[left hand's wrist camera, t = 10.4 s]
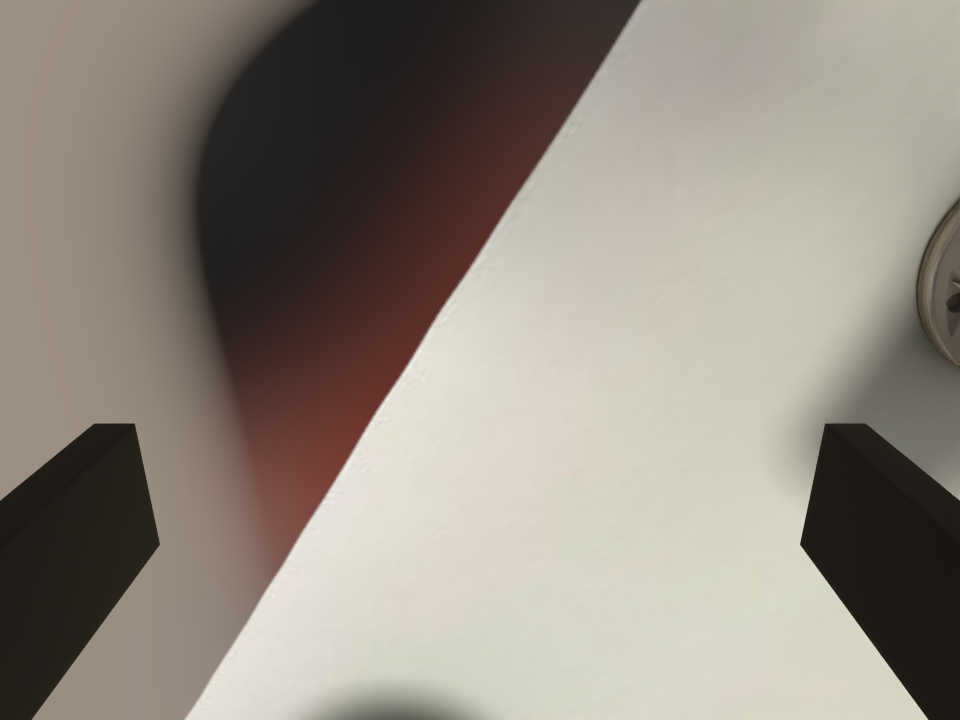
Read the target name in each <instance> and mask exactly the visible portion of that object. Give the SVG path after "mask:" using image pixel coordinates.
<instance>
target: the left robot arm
mask: <svg viewBox="0 0 960 720" xmlns="http://www.w3.org/2000/svg"><path fill="white" fill-rule="evenodd" d="M918 308H919V314H920V318H921V321H922V325H923V327H924V329H925V332H926V334H927V336H928V337H929V339H930V341H931V342H932V343H933V345H934V346H935V347H936V349H937V350H938V351H939V352H940V353H941V354H942V355H943V356H945V357H946V358H947V359H949V360H950V361H951V362H953V363H955V364H956V365H958V366H960V202H959V203H958V204H957V205H956V206H955V207H954V208H953V209H952V211H951V212H950V213H949V214H948V216H947V217H946V218H945V220H944V221H943V223H942V224H941V226H940V227H939V229H938V230H937V232H936V234H935V235H934V237H933V239H932V241H931V243H930V245H929V247H928V250H927V252H926V255H925V258H924V260H923V263H922V267H921V271H920V276H919V283H918ZM159 545H160V543H159V538H158V533H157V528H156V523H155V519H154V514H153V509H152V504H151V499H150V495H149V490H148V485H147V480H146V475H145V471H144V466H143V461H142V456H141V451H140V447H139V442H138V437H137V432H136V427H135V424H93V425H92V426H91V427H90V428H88V429H87V430H86V431H85V432H84V433H82V434H81V435H80V436H79V437H77V438H76V439H75V440H74V441H73V442H71V443H70V444H69V445H68V446H66V447H65V448H64V449H63V450H62V451H60V452H59V453H58V454H57V455H55V456H54V457H53V458H52V459H51V460H49V461H48V462H47V463H46V464H44V465H43V466H42V467H41V468H40V469H38V470H37V471H36V472H35V473H33V474H32V475H31V476H30V477H29V478H27V479H26V480H25V481H24V482H22V483H21V484H20V485H19V486H18V487H16V488H15V489H14V490H13V491H12V492H10V493H9V494H8V495H7V496H5V497H4V498H3V499H2V500H1V501H0V720H32V718H33V717H34V716H35V714H36V713H37V712H38V710H39V709H40V707H41V706H42V705H43V703H44V702H45V701H46V699H47V698H48V697H49V695H50V694H51V692H52V691H53V690H54V688H55V687H56V686H57V684H58V683H59V682H60V680H61V679H62V677H63V676H64V675H65V673H66V672H67V671H68V669H69V668H70V667H71V665H72V664H73V662H74V661H75V660H76V658H77V657H78V656H79V654H80V653H81V652H82V650H83V649H84V647H85V646H86V645H87V643H88V642H89V641H90V639H91V638H92V636H93V635H94V634H95V632H96V631H97V630H98V628H99V627H100V626H101V624H102V623H103V622H104V620H105V619H106V617H107V616H108V615H109V613H110V612H111V611H112V609H113V608H114V606H115V605H116V604H117V602H118V601H119V600H120V598H121V597H122V596H123V594H124V593H125V591H126V590H127V589H128V587H129V586H130V585H131V583H132V582H133V580H134V579H135V578H136V576H137V575H138V574H139V572H140V571H141V570H142V568H143V567H144V565H145V564H146V563H147V561H148V560H149V559H150V557H151V556H152V555H153V553H154V552H155V550H156V549H157V548H158V546H159ZM800 545H801V546H802V548H803V549H804V551H805V552H806V553H807V555H808V556H809V557H810V559H811V560H812V561H813V563H814V564H815V566H816V567H817V568H818V570H819V571H820V572H821V574H822V575H823V576H824V578H825V579H826V581H827V582H828V583H829V585H830V586H831V587H832V589H833V590H834V591H835V593H836V594H837V596H838V597H839V598H840V600H841V601H842V602H843V604H844V605H845V606H846V608H847V609H848V611H849V612H850V613H851V615H852V616H853V617H854V619H855V620H856V622H857V623H858V624H859V626H860V627H861V628H862V630H863V631H864V632H865V634H866V635H867V637H868V638H869V639H870V641H871V642H872V643H873V645H874V646H875V647H876V649H877V650H878V652H879V653H880V654H881V656H882V657H883V658H884V660H885V661H886V662H887V664H888V665H889V667H890V668H891V669H892V671H893V672H894V673H895V675H896V676H897V677H898V679H899V680H900V682H901V683H902V684H903V686H904V687H905V688H906V690H907V691H908V692H909V694H910V695H911V697H912V698H913V699H914V701H915V702H916V703H917V705H918V706H919V707H920V709H921V710H922V712H923V713H924V714H925V716H926V717H927V718H928V720H960V501H959V500H958V499H957V498H956V497H955V496H953V495H952V494H951V493H950V492H949V491H947V490H946V489H945V488H944V487H942V486H941V485H940V484H939V483H938V482H936V481H935V480H934V479H933V478H931V477H930V476H929V475H928V474H927V473H925V472H924V471H923V470H922V469H920V468H919V467H918V466H917V465H916V464H914V463H913V462H912V461H911V460H909V459H908V458H907V457H906V456H905V455H903V454H902V453H901V452H900V451H898V450H897V449H896V448H895V447H894V446H892V445H891V444H890V443H889V442H887V441H886V440H885V439H884V438H883V437H881V436H880V435H879V434H878V433H876V432H875V431H874V430H873V429H872V428H870V427H869V426H868V425H867V424H825V427H824V432H823V437H822V442H821V447H820V451H819V456H818V461H817V466H816V471H815V475H814V480H813V485H812V490H811V495H810V499H809V504H808V509H807V514H806V519H805V523H804V528H803V533H802V538H801V543H800Z"/></svg>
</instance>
